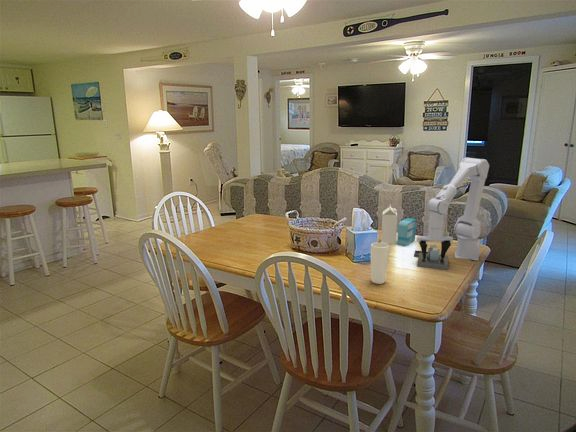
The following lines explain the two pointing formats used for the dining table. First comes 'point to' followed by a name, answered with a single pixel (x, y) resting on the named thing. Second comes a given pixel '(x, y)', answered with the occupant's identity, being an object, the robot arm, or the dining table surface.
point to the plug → (433, 253)
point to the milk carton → (389, 226)
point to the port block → (433, 262)
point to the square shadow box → (417, 253)
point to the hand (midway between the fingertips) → (433, 257)
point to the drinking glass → (379, 262)
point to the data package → (406, 231)
